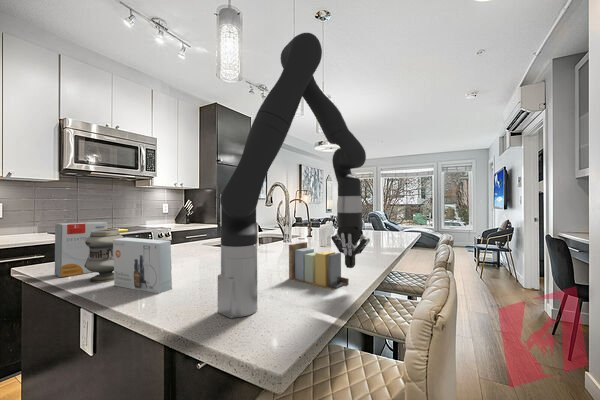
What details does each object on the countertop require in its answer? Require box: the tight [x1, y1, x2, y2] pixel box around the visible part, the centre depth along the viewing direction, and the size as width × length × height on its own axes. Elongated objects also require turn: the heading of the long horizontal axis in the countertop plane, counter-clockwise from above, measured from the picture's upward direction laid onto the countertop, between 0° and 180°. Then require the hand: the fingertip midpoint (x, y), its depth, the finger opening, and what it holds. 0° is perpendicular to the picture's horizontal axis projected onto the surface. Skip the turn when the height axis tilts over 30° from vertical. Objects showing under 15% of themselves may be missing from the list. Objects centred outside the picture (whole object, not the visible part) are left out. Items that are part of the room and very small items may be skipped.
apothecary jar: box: [85, 228, 125, 283], centre depth 104 cm, size 12×12×18 cm
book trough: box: [288, 241, 350, 291], centre depth 96 cm, size 8×19×13 cm, turn 47°
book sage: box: [304, 251, 318, 283], centre depth 97 cm, size 6×4×9 cm, turn 137°
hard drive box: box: [54, 221, 108, 278], centre depth 114 cm, size 16×8×20 cm, turn 143°
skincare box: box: [113, 237, 173, 294], centre depth 93 cm, size 21×6×16 cm, turn 68°
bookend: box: [328, 252, 347, 290], centre depth 90 cm, size 6×3×10 cm, turn 137°
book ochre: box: [315, 250, 336, 286], centre depth 93 cm, size 6×4×10 cm
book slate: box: [295, 247, 315, 281], centre depth 100 cm, size 6×4×10 cm
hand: (350, 267), depth 87 cm, fingers closed
